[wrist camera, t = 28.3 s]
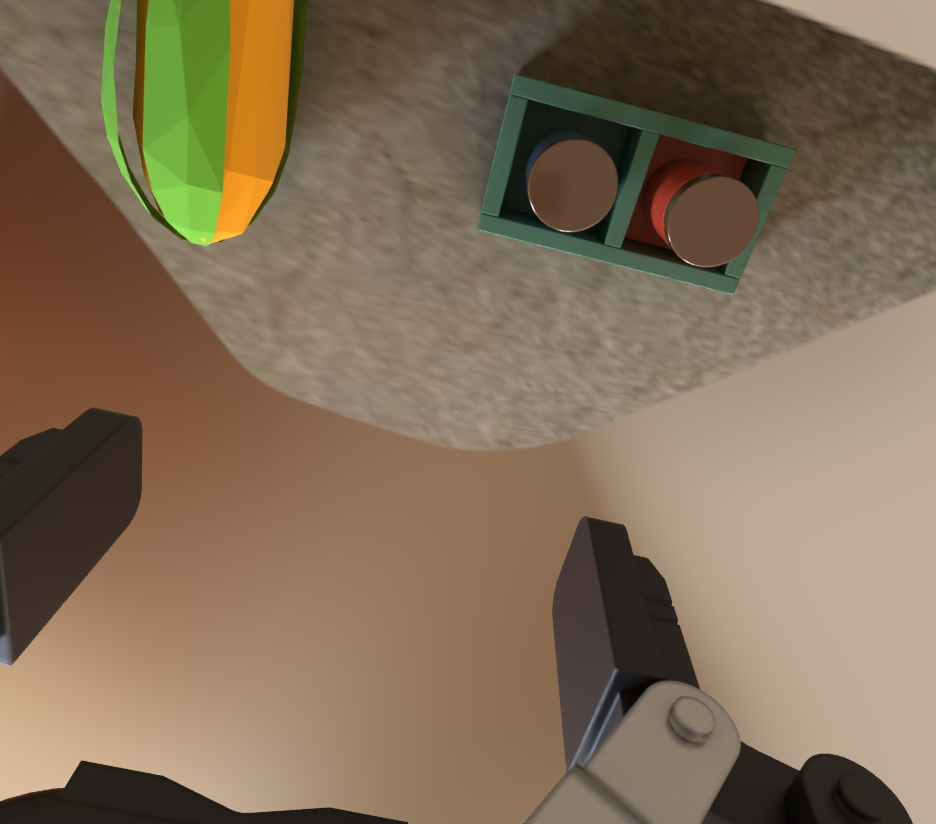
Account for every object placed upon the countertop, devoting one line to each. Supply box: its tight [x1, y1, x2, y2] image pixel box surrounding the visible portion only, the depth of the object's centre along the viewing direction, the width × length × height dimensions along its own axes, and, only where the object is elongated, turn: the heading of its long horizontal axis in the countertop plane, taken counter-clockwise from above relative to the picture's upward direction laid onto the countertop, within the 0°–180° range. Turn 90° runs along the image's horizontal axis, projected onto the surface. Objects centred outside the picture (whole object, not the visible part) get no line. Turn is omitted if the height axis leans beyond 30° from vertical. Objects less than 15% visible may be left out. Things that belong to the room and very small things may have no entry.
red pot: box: [642, 159, 759, 267], centre depth 30 cm, size 4×4×6 cm
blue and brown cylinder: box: [524, 127, 618, 232], centre depth 30 cm, size 4×4×6 cm
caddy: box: [478, 73, 796, 295], centre depth 32 cm, size 7×12×4 cm, turn 77°
